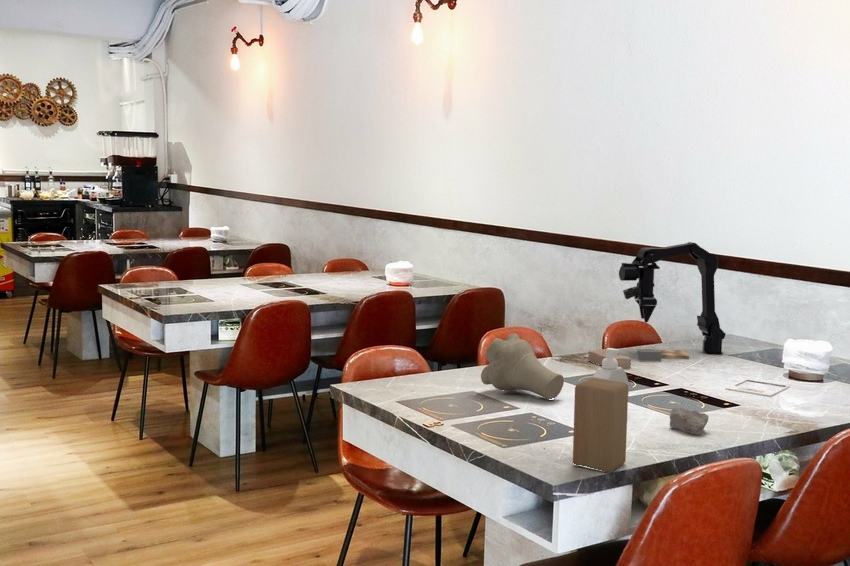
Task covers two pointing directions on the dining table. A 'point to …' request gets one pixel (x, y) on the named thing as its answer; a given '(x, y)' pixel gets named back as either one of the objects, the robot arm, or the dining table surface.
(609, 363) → the soap bottle
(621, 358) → the brick
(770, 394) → the photo frame
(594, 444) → the wooden block
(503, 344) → the vase
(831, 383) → the dining table surface
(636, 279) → the robot arm
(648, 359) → the block
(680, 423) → the stone
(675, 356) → the oak board
